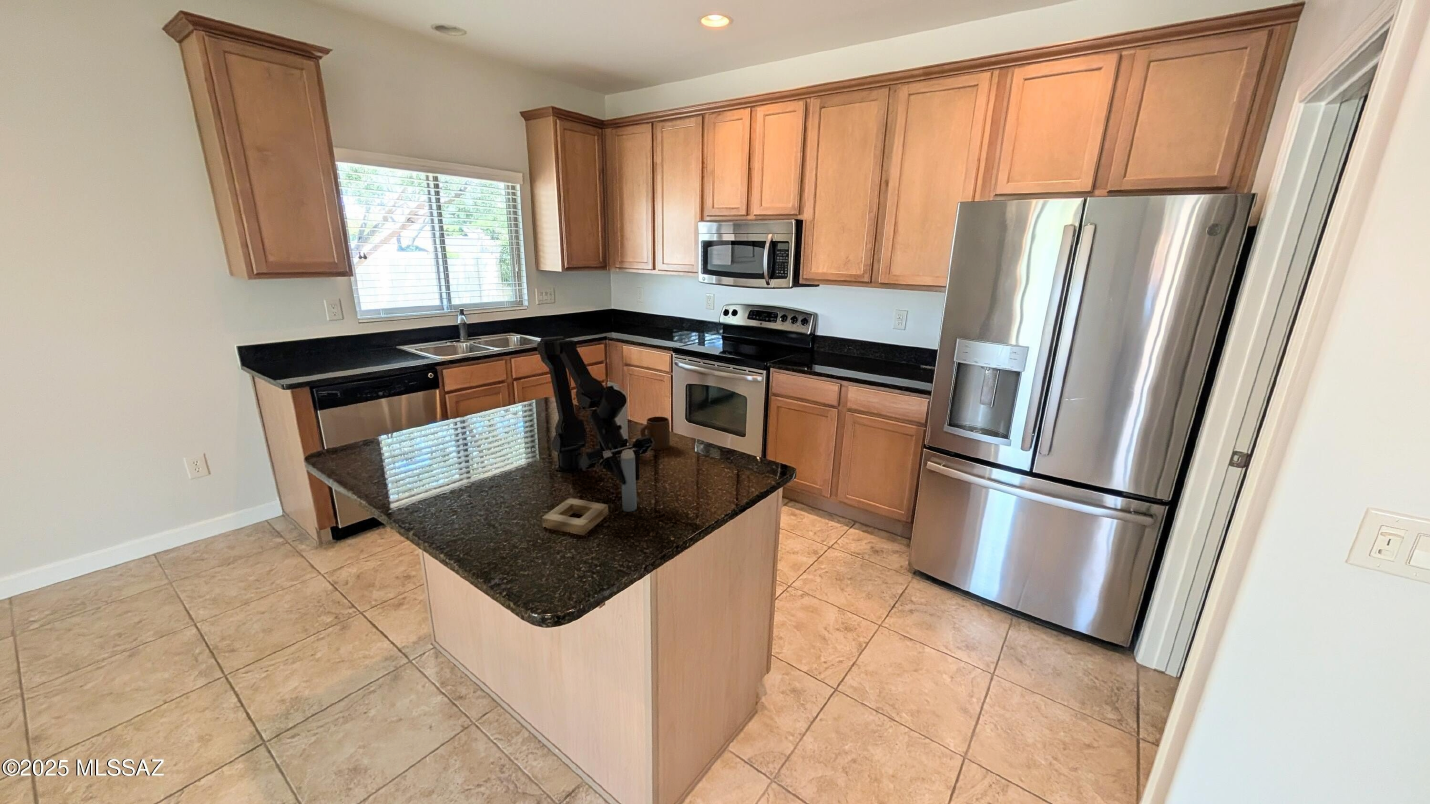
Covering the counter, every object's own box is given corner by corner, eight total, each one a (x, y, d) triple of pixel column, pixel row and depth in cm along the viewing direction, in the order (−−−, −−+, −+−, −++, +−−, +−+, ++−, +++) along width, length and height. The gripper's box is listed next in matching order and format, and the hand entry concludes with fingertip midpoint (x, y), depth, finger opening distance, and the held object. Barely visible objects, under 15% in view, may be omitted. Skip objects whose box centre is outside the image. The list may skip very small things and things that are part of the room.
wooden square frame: (542, 527, 124) (541, 517, 123) (570, 506, 134) (569, 497, 133) (583, 535, 121) (582, 525, 120) (608, 513, 131) (607, 504, 130)
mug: (650, 456, 168) (649, 428, 166) (633, 451, 172) (632, 423, 170) (674, 445, 178) (674, 418, 175) (657, 441, 182) (656, 414, 179)
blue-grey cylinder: (620, 510, 133) (617, 451, 128) (626, 504, 136) (624, 446, 132) (632, 512, 131) (630, 452, 127) (639, 506, 135) (637, 448, 130)
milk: (614, 452, 171) (610, 386, 165) (602, 447, 175) (599, 383, 169) (629, 447, 176) (626, 383, 169) (617, 443, 179) (614, 380, 173)
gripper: (627, 436, 147) (650, 485, 142) (564, 451, 135) (587, 506, 130) (642, 415, 139) (667, 467, 134) (576, 430, 128) (601, 487, 123)
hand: (631, 482), depth 131 cm, fingers closed on blue-grey cylinder, 3 cm apart
